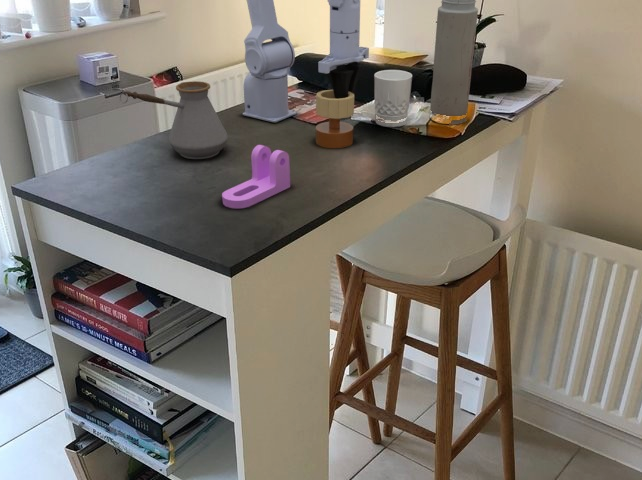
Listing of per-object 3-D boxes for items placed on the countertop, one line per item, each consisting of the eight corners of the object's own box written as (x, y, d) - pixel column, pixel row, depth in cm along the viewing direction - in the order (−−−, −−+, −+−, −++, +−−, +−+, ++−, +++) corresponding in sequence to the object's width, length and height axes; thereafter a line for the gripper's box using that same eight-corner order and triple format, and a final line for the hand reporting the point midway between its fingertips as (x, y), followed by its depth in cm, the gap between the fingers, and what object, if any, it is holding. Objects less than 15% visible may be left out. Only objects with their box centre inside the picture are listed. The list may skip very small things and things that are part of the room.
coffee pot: (204, 138, 155) (196, 62, 147) (240, 151, 149) (235, 73, 140) (115, 166, 143) (102, 85, 134) (151, 182, 136) (140, 98, 128)
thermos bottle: (467, 114, 167) (481, -26, 151) (465, 125, 160) (480, -19, 144) (430, 112, 168) (441, -27, 152) (427, 123, 162) (439, -20, 146)
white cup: (410, 128, 159) (413, 80, 154) (373, 128, 160) (375, 80, 154) (407, 116, 166) (410, 69, 160) (371, 116, 166) (373, 69, 160)
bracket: (266, 179, 137) (265, 142, 133) (290, 187, 134) (289, 148, 130) (216, 202, 128) (212, 163, 125) (239, 211, 126) (236, 171, 122)
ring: (308, 113, 149) (308, 95, 147) (330, 105, 154) (331, 87, 152) (339, 120, 145) (339, 101, 143) (360, 112, 150) (361, 93, 148)
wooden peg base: (308, 143, 152) (307, 109, 148) (329, 133, 157) (329, 99, 153) (339, 151, 149) (339, 116, 145) (360, 140, 154) (361, 106, 150)
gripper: (340, 40, 137) (339, 115, 144) (382, 26, 146) (380, 97, 154) (309, 35, 140) (310, 108, 148) (352, 21, 150) (351, 91, 157)
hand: (343, 102), depth 151 cm, fingers closed on ring
